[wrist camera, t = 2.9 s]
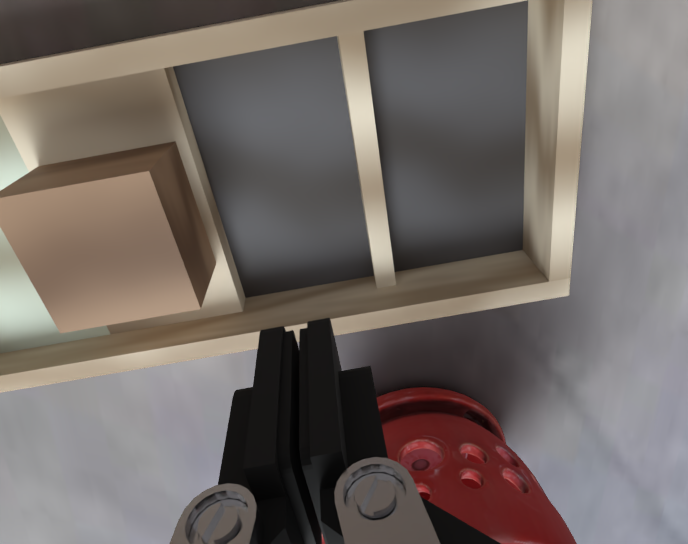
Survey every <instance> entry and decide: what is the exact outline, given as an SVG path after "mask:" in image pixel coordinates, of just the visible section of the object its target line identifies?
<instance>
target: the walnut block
mask: <svg viewBox="0 0 688 544" xmlns="http://www.w3.org/2000/svg"><path fill="white" fill-rule="evenodd" d="M0 228H1V229H2V231H3V233H4V235H5V236H6V238H7V240H8V242H9V244H10V245H11V247H12V249H13V251H14V252H15V254H16V256H17V258H18V259H19V261H20V263H21V265H22V266H23V268H24V270H25V272H26V274H27V275H28V277H29V279H30V281H31V282H32V284H33V286H34V288H35V289H36V291H37V293H38V295H39V297H40V298H41V300H42V302H43V304H44V305H45V307H46V309H47V311H48V312H49V314H50V316H51V318H52V319H53V321H54V323H55V325H56V327H57V328H58V330H59V332H60V333H66V332H72V331H77V330H83V329H89V328H95V327H101V326H106V325H112V324H118V323H124V322H129V321H135V320H141V319H147V318H153V317H158V316H164V315H170V314H176V313H181V312H187V311H193V310H199V309H201V307H202V304H203V301H204V298H205V295H206V292H207V289H208V287H209V284H210V281H211V278H212V275H213V272H214V269H215V266H216V260H215V257H214V254H213V251H212V248H211V245H210V242H209V239H208V236H207V234H206V231H205V228H204V225H203V222H202V219H201V216H200V213H199V210H198V207H197V204H196V201H195V198H194V195H193V192H192V189H191V186H190V183H189V180H188V177H187V174H186V171H185V168H184V165H183V162H182V159H181V156H180V153H179V150H178V147H177V144H176V141H174V142H169V143H163V144H158V145H152V146H147V147H141V148H136V149H130V150H125V151H119V152H114V153H108V154H103V155H97V156H92V157H86V158H81V159H75V160H70V161H64V162H59V163H54V164H48V165H43V166H38V167H37V168H35V169H33V170H32V171H30V172H29V173H27V174H26V175H24V176H23V177H21V178H19V179H18V180H16V181H15V182H13V183H12V184H10V185H9V186H7V187H6V188H4V189H2V190H1V191H0Z"/></svg>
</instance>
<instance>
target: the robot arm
mask: <svg viewBox="0 0 688 544" xmlns="http://www.w3.org/2000/svg"><path fill="white" fill-rule="evenodd" d="M322 535H323V538H324V541H325V544H501V543H499V542H497V541H496V540H494V539H492V538H491V537H489V536H487V535H485V534H484V533H482V532H480V531H479V530H477V529H475V528H474V527H472V526H470V525H468V524H467V523H465V522H463V521H462V520H460V519H458V518H456V517H455V516H453V515H451V514H450V513H448V512H446V511H445V510H443V509H441V508H439V507H438V506H436V505H434V504H433V503H431V502H429V501H427V500H426V499H424V498H422V497H421V496H420V495H419V492H418V490H417V487H416V485H415V483H414V480H413V478H412V477H411V475H410V474H409V472H408V470H407V469H406V468H405V467H403V466H402V465H401V464H399V463H398V462H396V461H393V460H391V459H388V454H387V449H386V444H385V439H384V434H383V429H382V423H381V418H380V413H379V408H378V403H377V398H376V392H375V387H374V382H373V377H372V372H371V367H370V366H367V367H362V368H356V369H351V370H345V371H342V370H341V365H340V361H339V356H338V351H337V347H336V342H335V338H334V333H333V328H332V324H331V320H330V318H324V319H319V320H313V321H308V322H307V328H303V329H300V331H299V348H298V345H297V341H296V337H295V334H294V331H293V330H292V331H286V330H285V328H284V326H280V327H275V328H269V329H264V330H261V331H260V335H259V343H258V351H257V359H256V368H255V376H254V384H253V387H251V388H245V389H240V390H236V391H235V392H234V396H233V400H232V406H231V412H230V418H229V423H228V429H227V435H226V441H225V447H224V453H223V459H222V464H221V470H220V476H219V482H218V485H216V486H214V487H212V488H209V489H207V490H205V491H203V492H202V493H201V494H199V495H198V496H197V497H195V498H194V499H193V500H192V501H191V502H190V503H189V505H188V506H187V507H186V508H185V509H184V511H183V513H182V515H181V517H180V519H179V521H178V523H177V526H176V528H175V531H174V534H173V536H172V539H171V541H170V544H322Z"/></svg>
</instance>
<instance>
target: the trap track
mask: <svg viewBox="0 0 688 544" xmlns="http://www.w3.org/2000/svg"><path fill="white" fill-rule="evenodd" d="M591 12H592V0H339V1H334V2H328V3H323V4H318V5H312V6H307V7H302V8H296V9H291V10H286V11H280V12H275V13H270V14H265V15H259V16H254V17H249V18H243V19H238V20H233V21H227V22H222V23H217V24H211V25H206V26H201V27H195V28H190V29H185V30H179V31H174V32H169V33H164V34H158V35H153V36H148V37H142V38H137V39H132V40H126V41H121V42H116V43H110V44H105V45H100V46H94V47H89V48H84V49H79V50H73V51H68V52H63V53H57V54H52V55H47V56H41V57H36V58H31V59H25V60H20V61H15V62H9V63H4V64H0V191H1V190H2V189H4V188H6V187H7V186H9V185H10V184H12V183H13V182H15V181H16V180H18V179H19V178H21V177H23V176H24V175H26V174H27V173H29V172H30V171H32V170H33V169H35V168H37V167H38V166H43V165H48V164H54V163H59V162H64V161H70V160H75V159H81V158H86V157H92V156H97V155H103V154H108V153H114V152H119V151H125V150H130V149H136V148H141V147H147V146H152V145H158V144H163V143H169V142H174V141H176V144H177V147H178V150H179V153H180V156H181V159H182V162H183V165H184V168H185V171H186V174H187V177H188V180H189V183H190V186H191V189H192V192H193V195H194V198H195V201H196V204H197V207H198V210H199V213H200V216H201V219H202V222H203V225H204V228H205V231H206V234H207V236H208V239H209V242H210V245H211V248H212V251H213V254H214V257H215V260H216V266H215V269H214V272H213V275H212V278H211V281H210V284H209V287H208V289H207V292H206V295H205V298H204V301H203V304H202V307H201V309H199V310H193V311H187V312H181V313H176V314H170V315H164V316H158V317H153V318H147V319H141V320H135V321H129V322H124V323H118V324H112V325H106V326H101V327H95V328H89V329H83V330H77V331H72V332H66V333H60V332H59V330H58V328H57V327H56V325H55V323H54V321H53V319H52V318H51V316H50V314H49V312H48V311H47V309H46V307H45V305H44V304H43V302H42V300H41V298H40V297H39V295H38V293H37V291H36V289H35V288H34V286H33V284H32V282H31V281H30V279H29V277H28V275H27V274H26V272H25V270H24V268H23V266H22V265H21V263H20V261H19V259H18V258H17V256H16V254H15V252H14V251H13V249H12V247H11V245H10V244H9V242H8V240H7V238H6V236H5V235H4V233H3V231H2V229H1V228H0V393H1V392H7V391H13V390H19V389H25V388H30V387H36V386H42V385H48V384H54V383H60V382H66V381H71V380H77V379H83V378H89V377H95V376H101V375H107V374H113V373H118V372H124V371H130V370H136V369H142V368H148V367H154V366H159V365H165V364H171V363H177V362H183V361H189V360H195V359H200V358H206V357H212V356H218V355H224V354H230V353H236V352H242V351H247V350H253V349H258V343H259V335H260V331H261V330H264V329H269V328H275V327H280V326H284V328H285V330H286V331H292V330H293V331H294V334H295V337H296V341H297V342H299V331H300V329H303V328H307V322H308V321H313V320H319V319H324V318H330V320H331V324H332V328H333V333H334V336H335V335H341V334H347V333H353V332H359V331H365V330H371V329H376V328H382V327H388V326H394V325H400V324H406V323H412V322H417V321H423V320H429V319H435V318H441V317H447V316H453V315H459V314H464V313H470V312H476V311H482V310H488V309H494V308H500V307H505V306H511V305H517V304H523V303H529V302H535V301H541V300H547V299H552V298H558V297H564V296H569V288H570V276H571V263H572V251H573V238H574V226H575V213H576V200H577V188H578V175H579V163H580V150H581V138H582V125H583V113H584V100H585V88H586V75H587V63H588V50H589V37H590V25H591Z"/></svg>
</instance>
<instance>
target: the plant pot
mask: <svg viewBox="0 0 688 544" xmlns="http://www.w3.org/2000/svg"><path fill="white" fill-rule="evenodd" d="M377 403H378V408H379V413H380V418H381V423H382V429H383V434H384V439H385V444H386V449H387V454H388V459H391V460H393V461H396V462H398V463H399V464H401V465H402V466H403V467H405V468H406V469H407V470H408V472H409V474H410V475H411V477H412V478H413V480H414V483H415V485H416V487H417V490H418V492H419V495H420V496H421V497H422V498H424V499H426V500H427V501H429V502H431V503H433V504H434V505H436V506H438V507H439V508H441V509H443V510H445V511H446V512H448V513H450V514H451V515H453V516H455V517H456V518H458V519H460V520H462V521H463V522H465V523H467V524H468V525H470V526H472V527H474V528H475V529H477V530H479V531H480V532H482V533H484V534H485V535H487V536H489V537H491V538H492V539H494V540H496V541H497V542H499V543H501V544H577V543H576V542H575V540H574V538H573V536H572V534H571V532H570V531H569V529H568V527H567V525H566V523H565V522H564V520H563V518H562V517H561V515H560V514H559V513H558V511H557V510H556V509H555V507H554V506H553V505H552V504H551V502H550V501H549V499H548V498H547V496H546V494H545V493H544V491H543V489H542V488H541V486H540V484H539V483H538V481H537V480H536V478H535V476H534V475H533V474H532V472H531V471H530V470H529V468H528V467H527V466H526V465H525V464H524V462H523V461H522V460H521V459H520V458H519V457H518V456H517V454H516V453H515V452H513V451H512V450H511V449H510V448H509V447H508V446H507V445H506V442H505V437H504V434H503V431H502V429H501V427H500V425H499V423H498V421H497V420H496V419H495V417H494V416H493V415H492V414H491V412H490V411H489V410H488V409H486V408H485V407H484V406H483V405H481V404H480V403H478V402H477V401H475V400H473V399H472V398H470V397H468V396H466V395H463V394H461V393H457V392H454V391H451V390H446V389H441V388H432V387H416V388H407V389H402V390H397V391H394V392H390V393H387V394H384V395H382V396H379V397H377ZM322 544H325V541H324V538H323V535H322Z"/></svg>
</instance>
